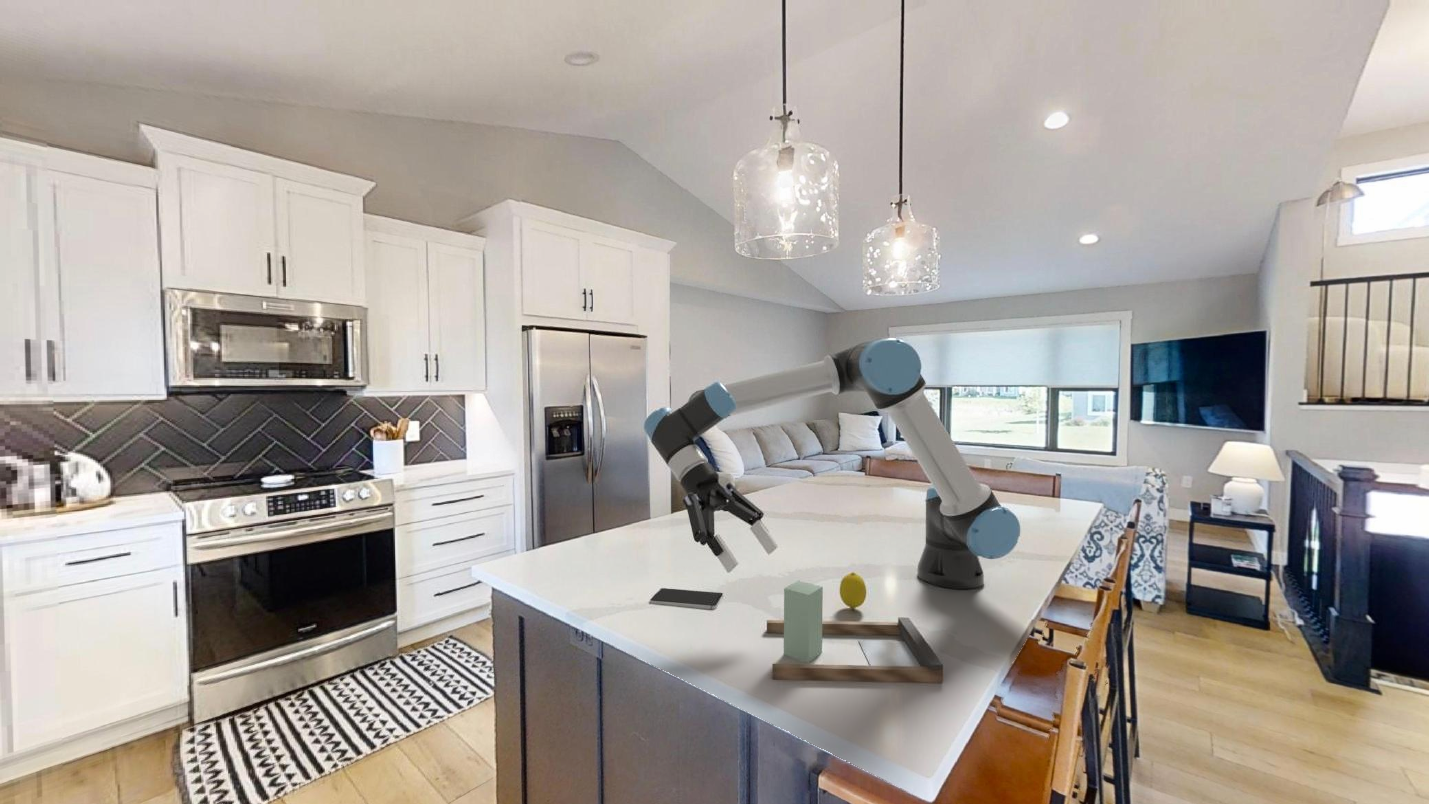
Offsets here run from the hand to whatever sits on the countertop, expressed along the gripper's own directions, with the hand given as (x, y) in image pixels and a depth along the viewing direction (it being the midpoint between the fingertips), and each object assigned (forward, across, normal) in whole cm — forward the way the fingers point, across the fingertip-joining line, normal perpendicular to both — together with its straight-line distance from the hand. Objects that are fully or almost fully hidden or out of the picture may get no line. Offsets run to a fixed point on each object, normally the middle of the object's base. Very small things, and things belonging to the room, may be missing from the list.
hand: (754, 559), depth 107 cm
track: (+23, -5, +1) cm, 23 cm away
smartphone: (-4, -6, -27) cm, 28 cm away
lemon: (+17, -24, -4) cm, 30 cm away
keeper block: (+18, 0, -3) cm, 18 cm away
